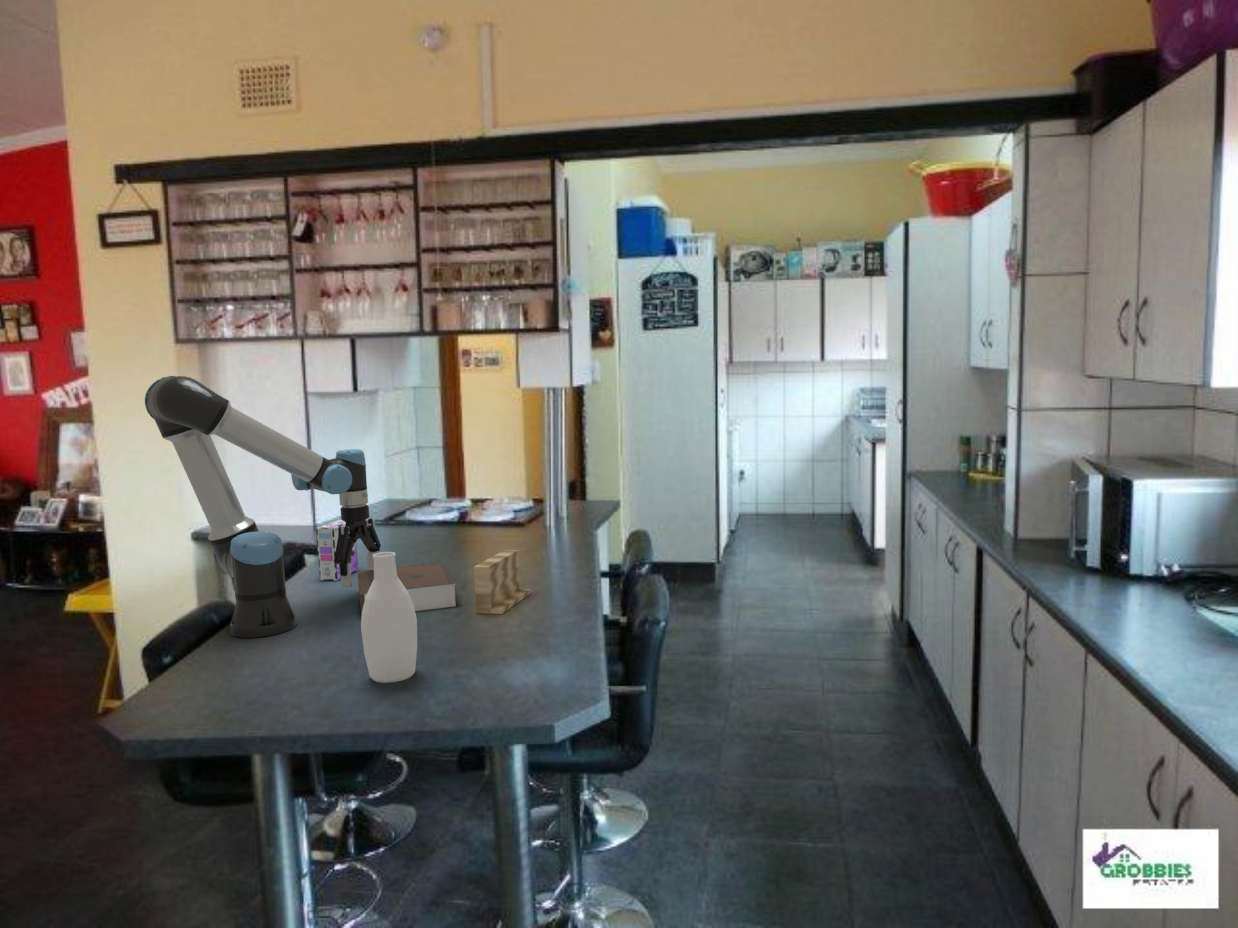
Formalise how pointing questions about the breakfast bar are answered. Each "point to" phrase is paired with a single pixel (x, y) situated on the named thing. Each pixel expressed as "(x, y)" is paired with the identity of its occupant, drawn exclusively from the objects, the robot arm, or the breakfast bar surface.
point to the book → (418, 585)
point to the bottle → (388, 624)
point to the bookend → (498, 583)
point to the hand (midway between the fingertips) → (360, 580)
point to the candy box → (332, 552)
